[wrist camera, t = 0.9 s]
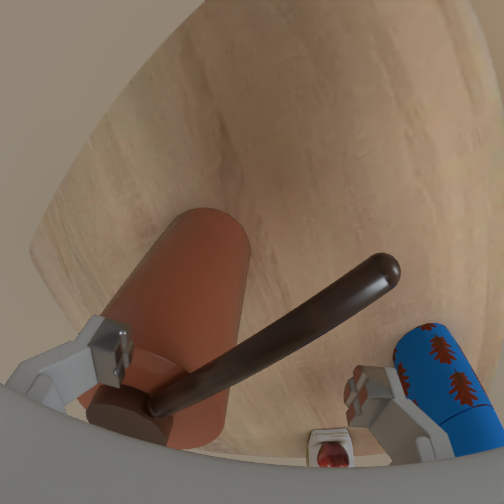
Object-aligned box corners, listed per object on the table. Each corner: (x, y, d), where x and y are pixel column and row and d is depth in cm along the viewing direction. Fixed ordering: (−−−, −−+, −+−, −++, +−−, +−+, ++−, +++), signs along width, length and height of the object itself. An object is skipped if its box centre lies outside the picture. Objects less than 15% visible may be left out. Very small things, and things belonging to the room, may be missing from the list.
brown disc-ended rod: (355, 201, 12) (368, 216, 10) (418, 294, 14) (432, 317, 12) (83, 397, 19) (73, 416, 17) (143, 440, 20) (137, 458, 19)
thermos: (396, 327, 43) (453, 474, 21) (457, 317, 42) (529, 442, 20) (387, 377, 48) (423, 508, 25) (442, 366, 47) (492, 483, 24)
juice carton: (344, 444, 57) (353, 521, 40) (304, 446, 58) (306, 525, 41) (351, 425, 54) (363, 509, 37) (308, 427, 55) (311, 515, 38)
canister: (147, 245, 40) (46, 380, 19) (207, 189, 37) (118, 312, 15) (206, 302, 43) (158, 459, 22) (269, 255, 40) (261, 424, 18)
